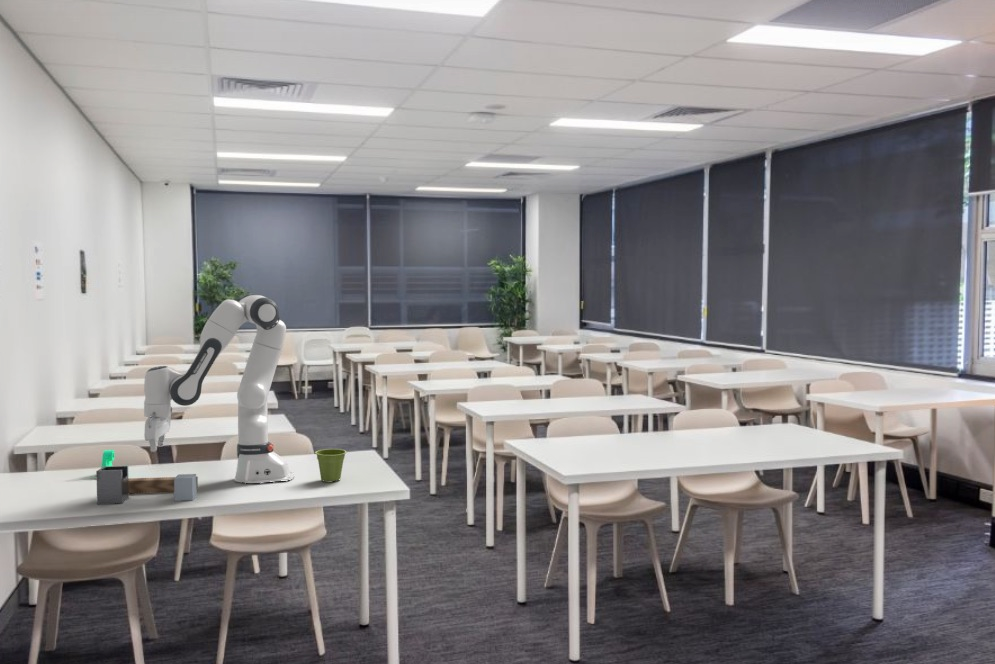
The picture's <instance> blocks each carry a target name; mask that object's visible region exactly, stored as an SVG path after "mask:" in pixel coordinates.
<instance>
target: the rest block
mask: <svg viewBox="0 0 995 664" xmlns="http://www.w3.org/2000/svg"><path fill="white" fill-rule="evenodd" d="M196 476H197V474H196V473H187V474H186V473H184V474H183V473H182V474H177V475H176V476H174V477H175V478H174V492H173V493H174V502H182V501H181V500H192V501H194V500H195V499H196V497H197V496H198V495H197V494H198V493H197V490H198V489H197V490H196ZM193 499H194V500H193Z"/></svg>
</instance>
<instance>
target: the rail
mask: <svg viewBox="0 0 995 664" xmlns="http://www.w3.org/2000/svg"><path fill="white" fill-rule="evenodd" d="M175 477H176V476H173V477H172V476H169V477H167V476H166V477H165V476H164V477H138V478H137V477H136V478H130V477H128V482H129V495H131V494H130V493H134V494H133V495H135V493H136V494H160V493H161V494H166V493H167V494H168V493H170V492H171V493H174V478H175ZM198 479H199V478H198V476H197V475H196V490H198V489H197V488H198V487H199V486H198V485H199V484H198V482H199V481H198Z"/></svg>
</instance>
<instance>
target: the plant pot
mask: <svg viewBox="0 0 995 664" xmlns="http://www.w3.org/2000/svg"><path fill="white" fill-rule="evenodd" d="M314 453H315V455H316V459H317V461H318V468H319V474H320V481H321V480H324V481H335V480H339V479H340V480H341V478H342V477H341V476H342V470H343V464H344V460H345V457H346V453H347V451H346V450H344V449H341V448H328V449H319V450H316V451H315V452H314ZM340 480H339V481H340ZM324 481H323V482H324ZM335 482H336V481H335Z"/></svg>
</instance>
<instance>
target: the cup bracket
mask: <svg viewBox="0 0 995 664" xmlns="http://www.w3.org/2000/svg"><path fill="white" fill-rule="evenodd" d="M95 477H96V505H97V504H98V505H115V503H116V505H118V504H117V503H122V504H123V503H124V501H125V500H126V501H127V500H128V499H129V498H130V494H129V482H128V478H129V465H112V466H104V467H102V468H101V467H100V468H99V469H97V470H96V476H95ZM126 501H125V502H126Z"/></svg>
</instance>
